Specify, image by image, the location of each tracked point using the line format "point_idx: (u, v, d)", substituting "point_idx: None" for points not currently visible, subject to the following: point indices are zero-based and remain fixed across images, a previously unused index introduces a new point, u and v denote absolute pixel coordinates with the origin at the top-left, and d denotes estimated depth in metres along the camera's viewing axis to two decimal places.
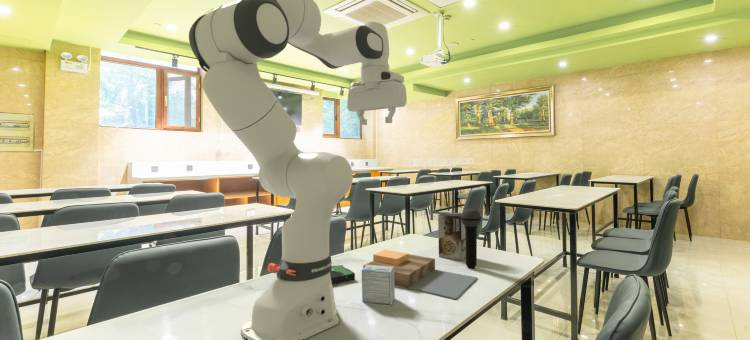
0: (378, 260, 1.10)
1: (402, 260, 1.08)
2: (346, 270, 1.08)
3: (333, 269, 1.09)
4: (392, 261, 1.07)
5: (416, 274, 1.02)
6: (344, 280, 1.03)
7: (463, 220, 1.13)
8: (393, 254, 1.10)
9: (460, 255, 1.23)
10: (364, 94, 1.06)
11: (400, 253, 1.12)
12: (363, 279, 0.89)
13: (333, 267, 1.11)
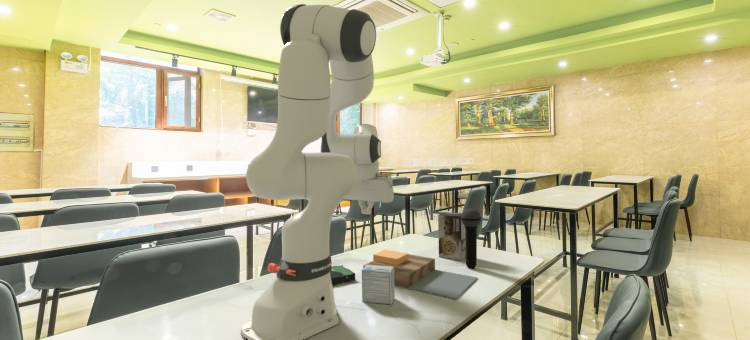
0: (378, 260, 1.10)
1: (402, 260, 1.08)
2: (346, 270, 1.07)
3: (333, 269, 1.09)
4: (392, 261, 1.07)
5: (416, 274, 1.02)
6: (344, 280, 1.03)
7: (463, 220, 1.13)
8: (393, 254, 1.10)
9: (460, 255, 1.23)
10: None
11: (400, 253, 1.12)
12: (363, 279, 0.89)
13: (333, 267, 1.10)
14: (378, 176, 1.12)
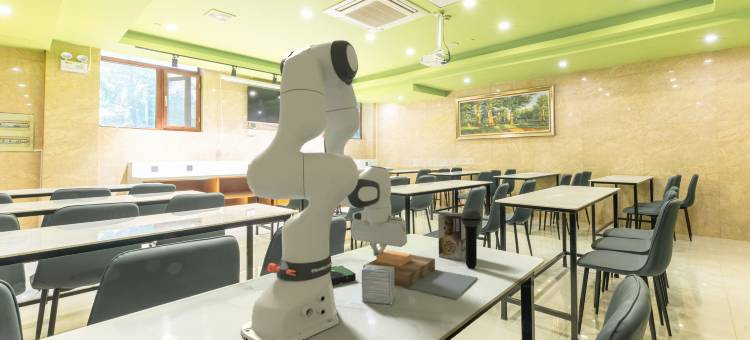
0: (381, 261, 1.09)
1: (406, 261, 1.08)
2: (347, 271, 1.07)
3: (333, 269, 1.08)
4: (396, 261, 1.06)
5: (416, 274, 1.02)
6: (345, 281, 1.03)
7: (463, 220, 1.13)
8: (396, 255, 1.10)
9: (460, 255, 1.23)
10: None
11: (403, 254, 1.11)
12: (363, 279, 0.89)
13: (334, 268, 1.10)
14: (391, 219, 1.10)
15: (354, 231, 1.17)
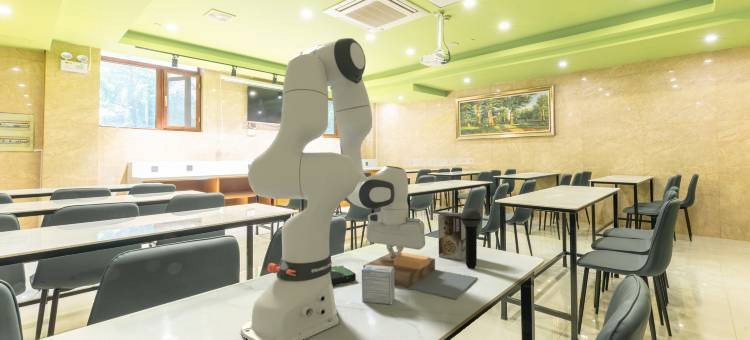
0: (399, 264, 1.05)
1: (424, 264, 1.04)
2: (347, 271, 1.07)
3: (333, 270, 1.08)
4: (414, 264, 1.03)
5: (416, 274, 1.02)
6: (345, 281, 1.03)
7: (463, 220, 1.13)
8: (414, 258, 1.06)
9: (460, 255, 1.23)
10: None
11: (421, 256, 1.08)
12: (363, 279, 0.89)
13: (334, 268, 1.10)
14: (408, 221, 1.06)
15: (369, 233, 1.13)
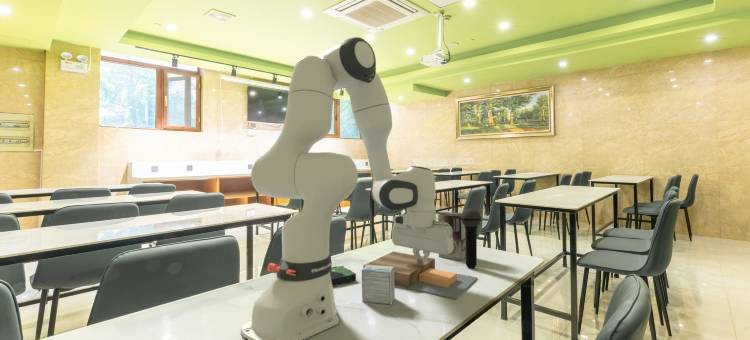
0: (425, 281, 1.01)
1: (451, 281, 1.00)
2: (347, 271, 1.07)
3: (334, 270, 1.08)
4: (441, 282, 0.98)
5: (416, 274, 1.02)
6: (345, 281, 1.02)
7: (463, 220, 1.13)
8: (441, 274, 1.02)
9: (460, 255, 1.23)
10: None
11: (448, 273, 1.03)
12: (363, 279, 0.89)
13: (334, 268, 1.10)
14: (436, 224, 1.01)
15: (395, 236, 1.09)
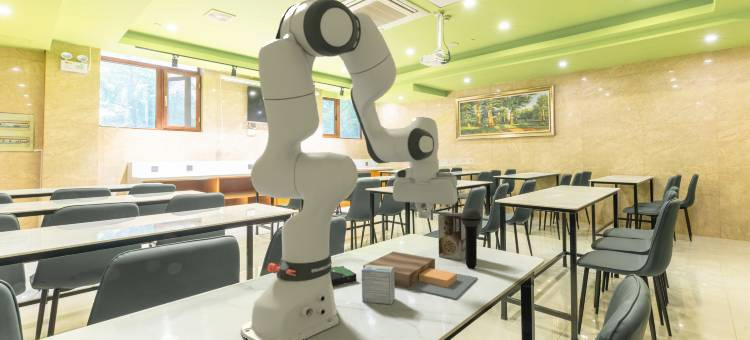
0: (425, 281, 1.01)
1: (451, 281, 1.00)
2: (347, 271, 1.07)
3: (334, 270, 1.08)
4: (441, 282, 0.98)
5: (416, 274, 1.02)
6: (346, 281, 1.02)
7: (463, 220, 1.13)
8: (441, 274, 1.02)
9: (460, 255, 1.23)
10: None
11: (448, 273, 1.03)
12: (363, 279, 0.89)
13: (334, 268, 1.10)
14: (439, 175, 1.00)
15: (396, 191, 1.07)
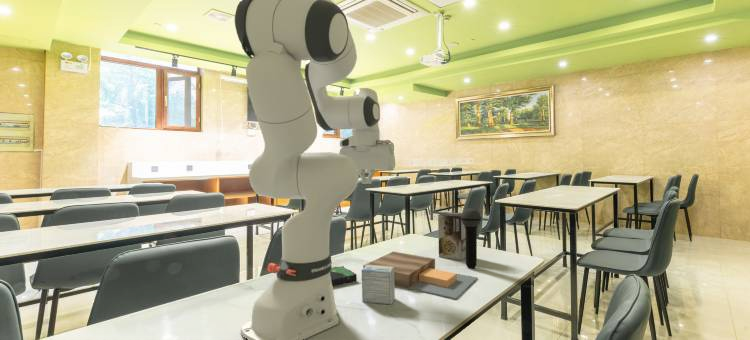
0: (425, 281, 1.01)
1: (451, 281, 1.00)
2: (348, 271, 1.07)
3: (334, 270, 1.08)
4: (441, 282, 0.98)
5: (416, 274, 1.02)
6: (346, 281, 1.02)
7: (463, 220, 1.13)
8: (441, 274, 1.02)
9: (460, 255, 1.23)
10: None
11: (448, 273, 1.03)
12: (363, 279, 0.89)
13: (334, 268, 1.10)
14: (379, 143, 1.06)
15: None
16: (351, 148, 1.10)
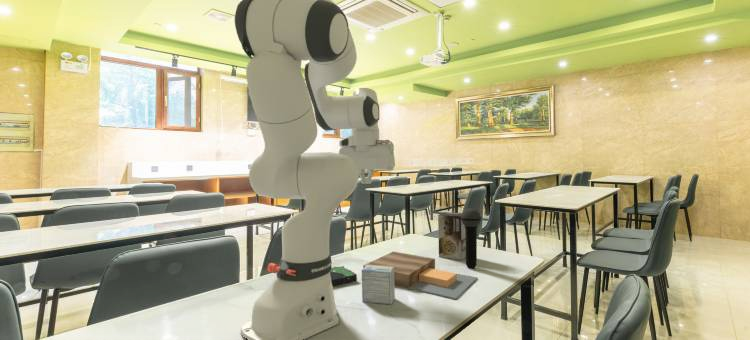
0: (425, 281, 1.01)
1: (451, 281, 1.00)
2: (348, 271, 1.06)
3: (334, 270, 1.08)
4: (441, 282, 0.98)
5: (416, 274, 1.02)
6: (346, 281, 1.02)
7: (463, 220, 1.13)
8: (441, 274, 1.02)
9: (460, 255, 1.23)
10: None
11: (448, 273, 1.03)
12: (363, 279, 0.89)
13: (334, 268, 1.09)
14: (378, 142, 1.06)
15: None
16: (351, 148, 1.10)
